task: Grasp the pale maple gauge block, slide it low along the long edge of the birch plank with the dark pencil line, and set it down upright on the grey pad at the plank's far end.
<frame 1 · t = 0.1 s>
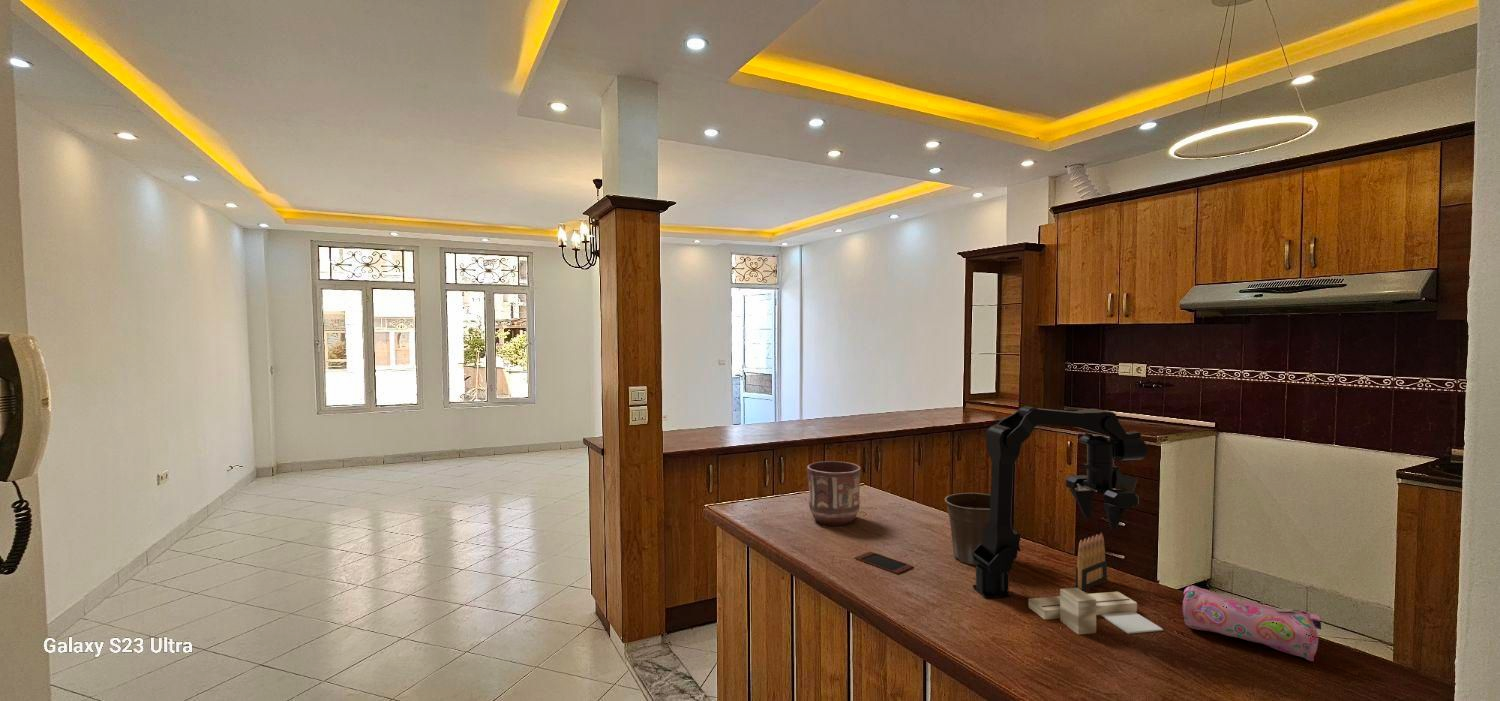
hand: (1100, 524, 153), 15 cm above the counter, tool pointing down, fingers open, 9 cm apart
plant pot: (976, 559, 171), on the counter
pottery: (834, 520, 207), on the counter
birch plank: (1082, 609, 140), on the counter
ammunition clip: (1091, 585, 153), on the counter
maple gauge block: (1077, 626, 132), on the counter
grey end pad: (1131, 623, 133), on the counter
pencil case: (1247, 642, 125), on the counter
smartphone: (883, 565, 169), on the counter
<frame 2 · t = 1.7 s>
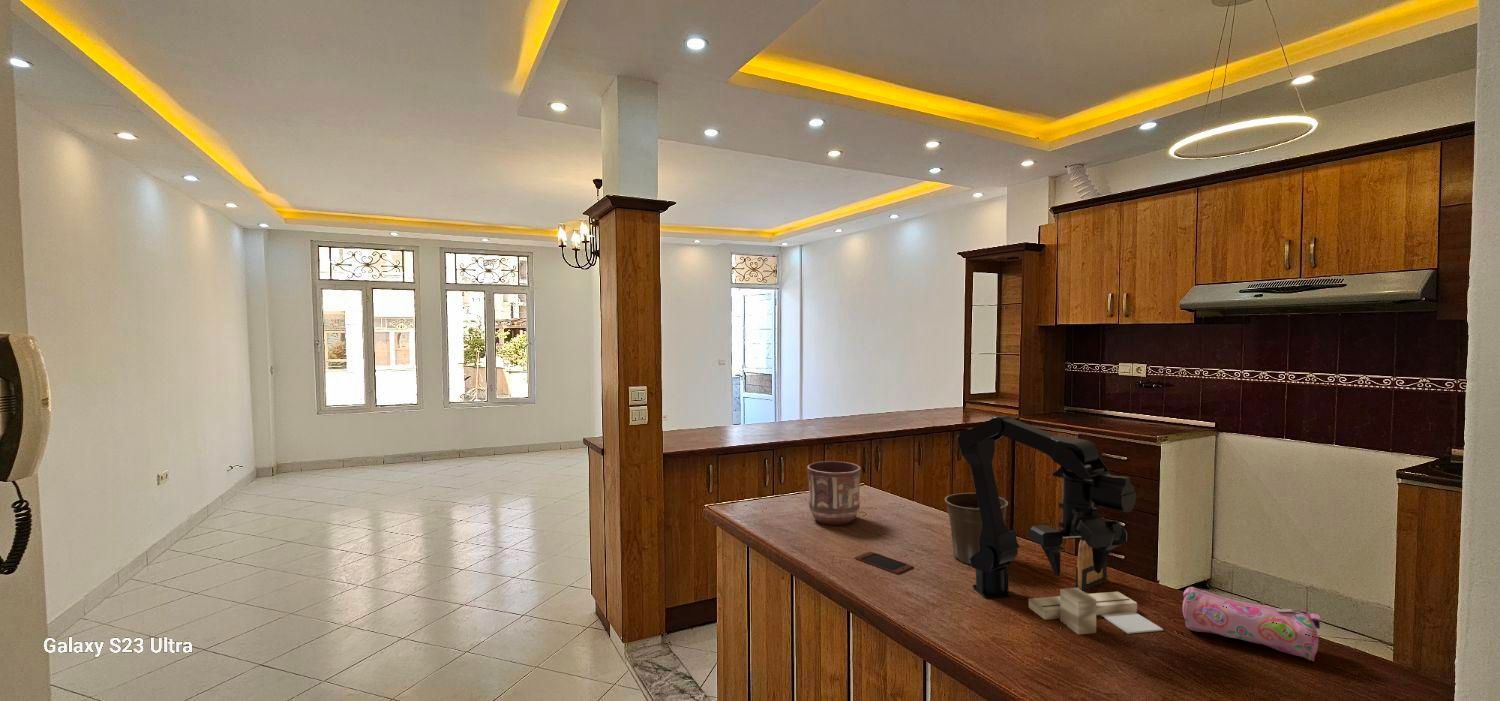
hand: (1077, 574, 132), 11 cm above the counter, tool pointing down, fingers open, 9 cm apart
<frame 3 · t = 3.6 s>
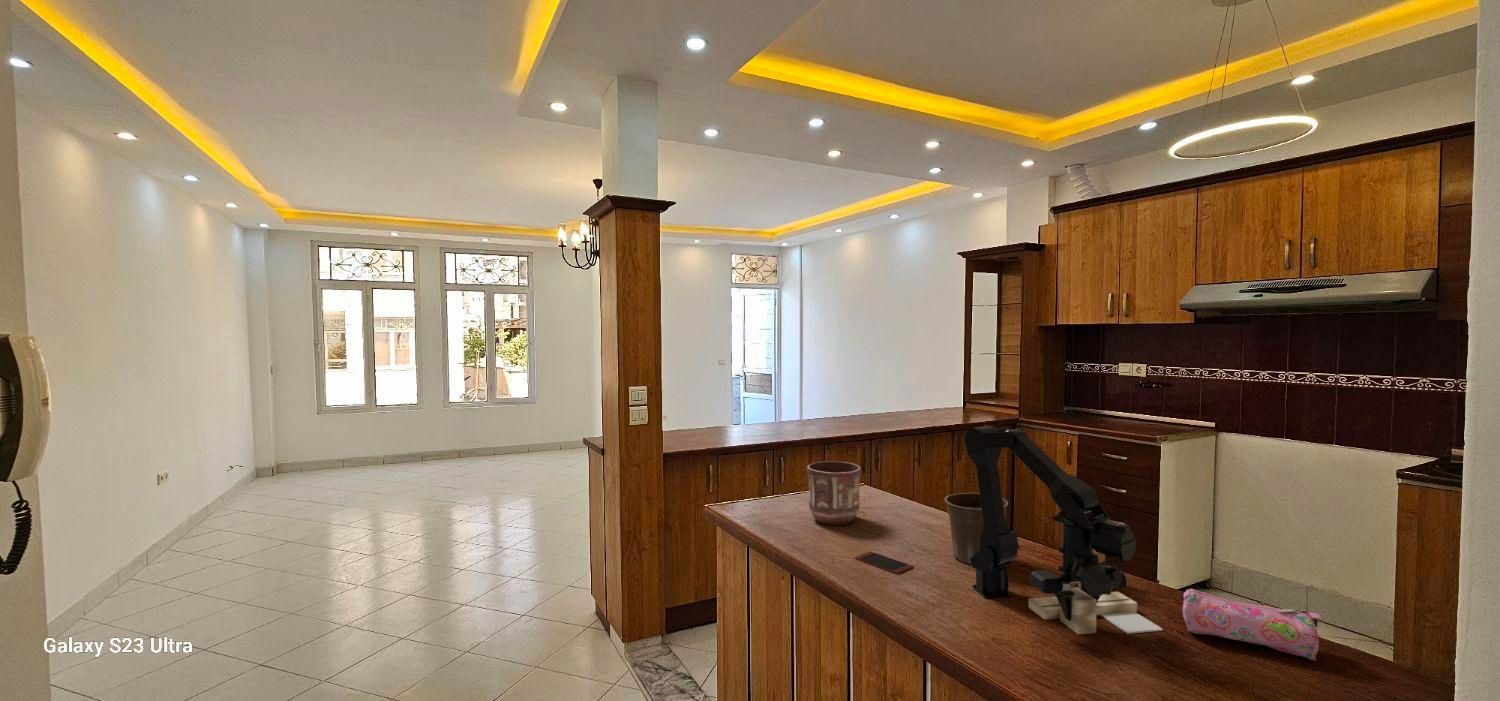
hand: (1077, 618, 132), 2 cm above the counter, tool pointing down, fingers closed on maple gauge block, 4 cm apart
maple gauge block: (1077, 626, 132), on the counter, touching gripper
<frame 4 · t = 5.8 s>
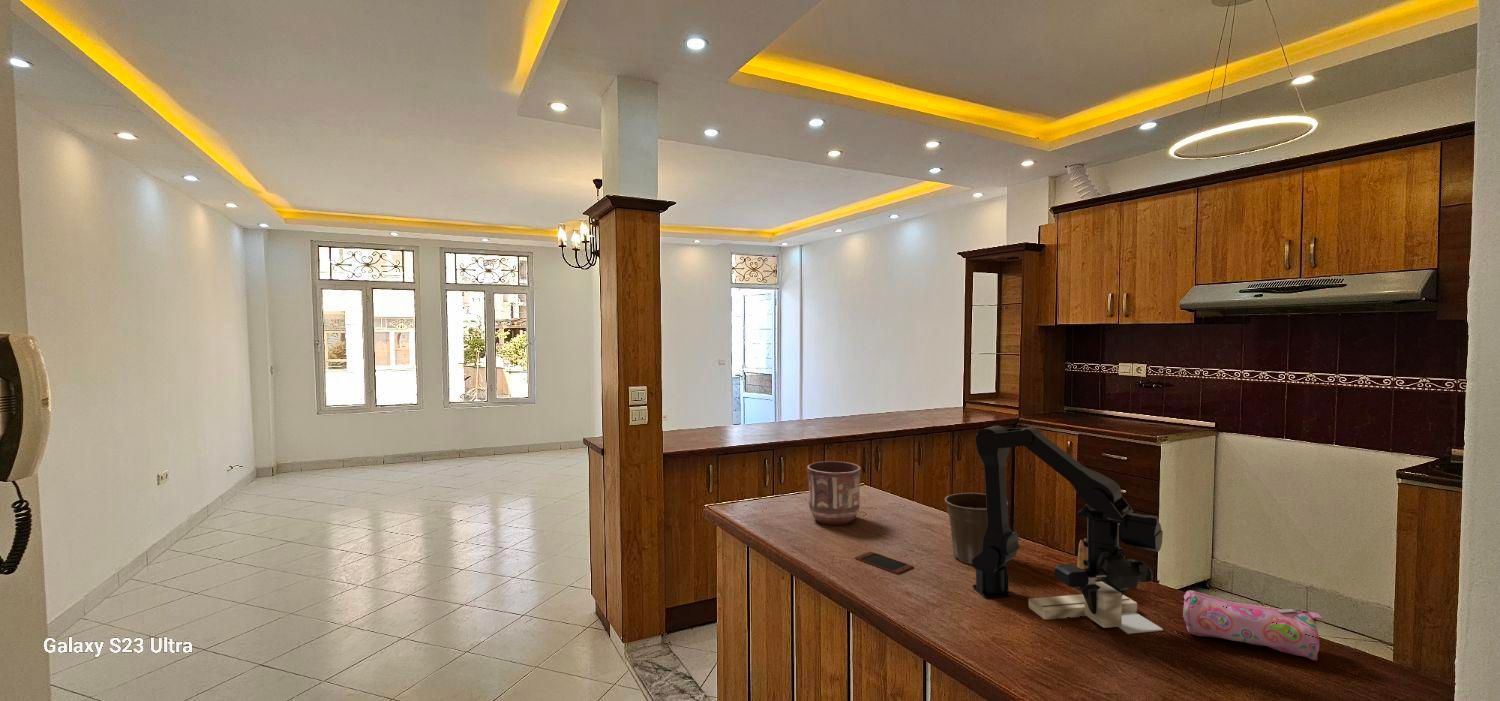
hand: (1102, 612, 132), 3 cm above the counter, tool pointing down, fingers closed on maple gauge block, 4 cm apart
maple gauge block: (1102, 620, 132), point 1 cm above the counter, touching gripper
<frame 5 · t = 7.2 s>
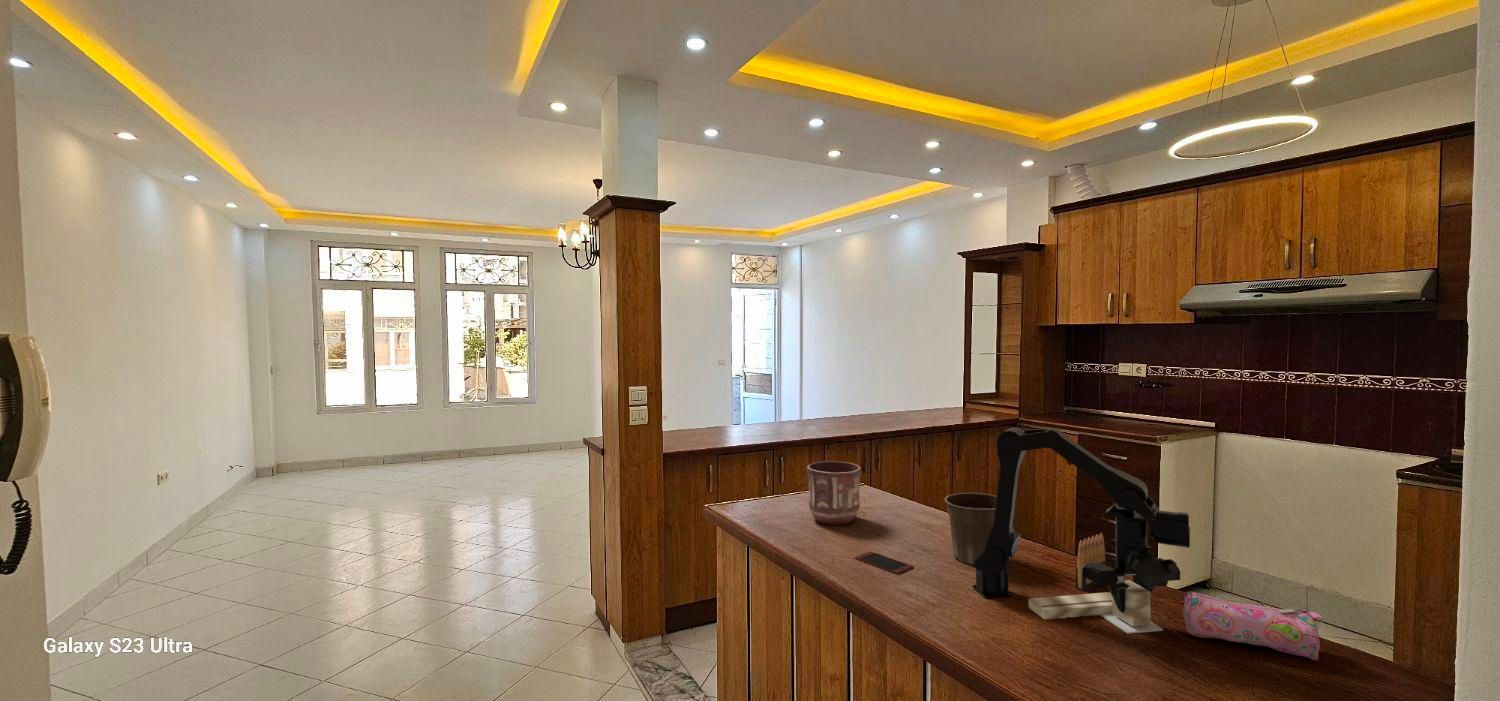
hand: (1130, 611, 133), 3 cm above the counter, tool pointing down, fingers closed on maple gauge block, 4 cm apart
maple gauge block: (1130, 618, 133), point 1 cm above the counter, touching gripper
when the fingers open (2 cm above the counter, at t = 8.4 s): maple gauge block stays where it is, resting on grey end pad.
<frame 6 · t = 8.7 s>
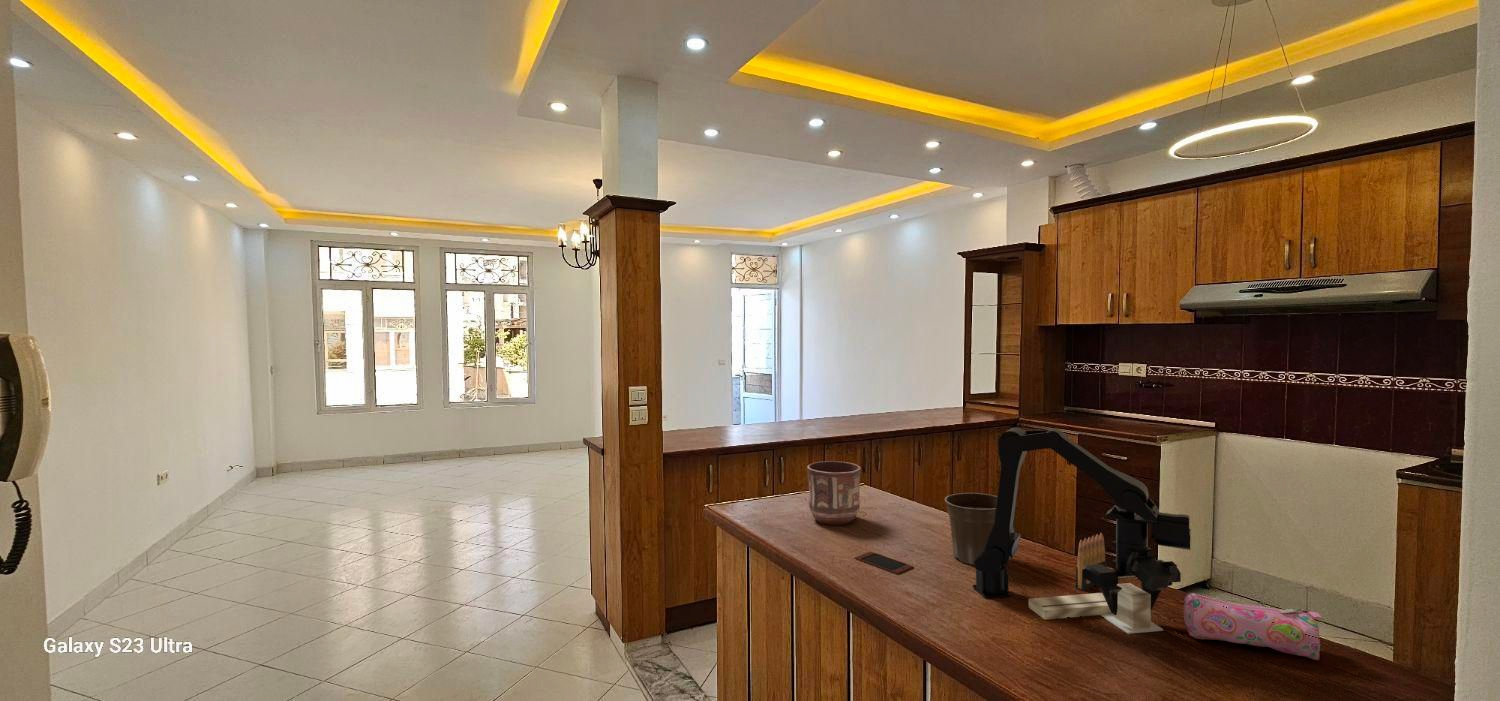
hand: (1131, 612, 133), 2 cm above the counter, tool pointing down, fingers open, 8 cm apart
maple gauge block: (1131, 621, 133), resting on grey end pad
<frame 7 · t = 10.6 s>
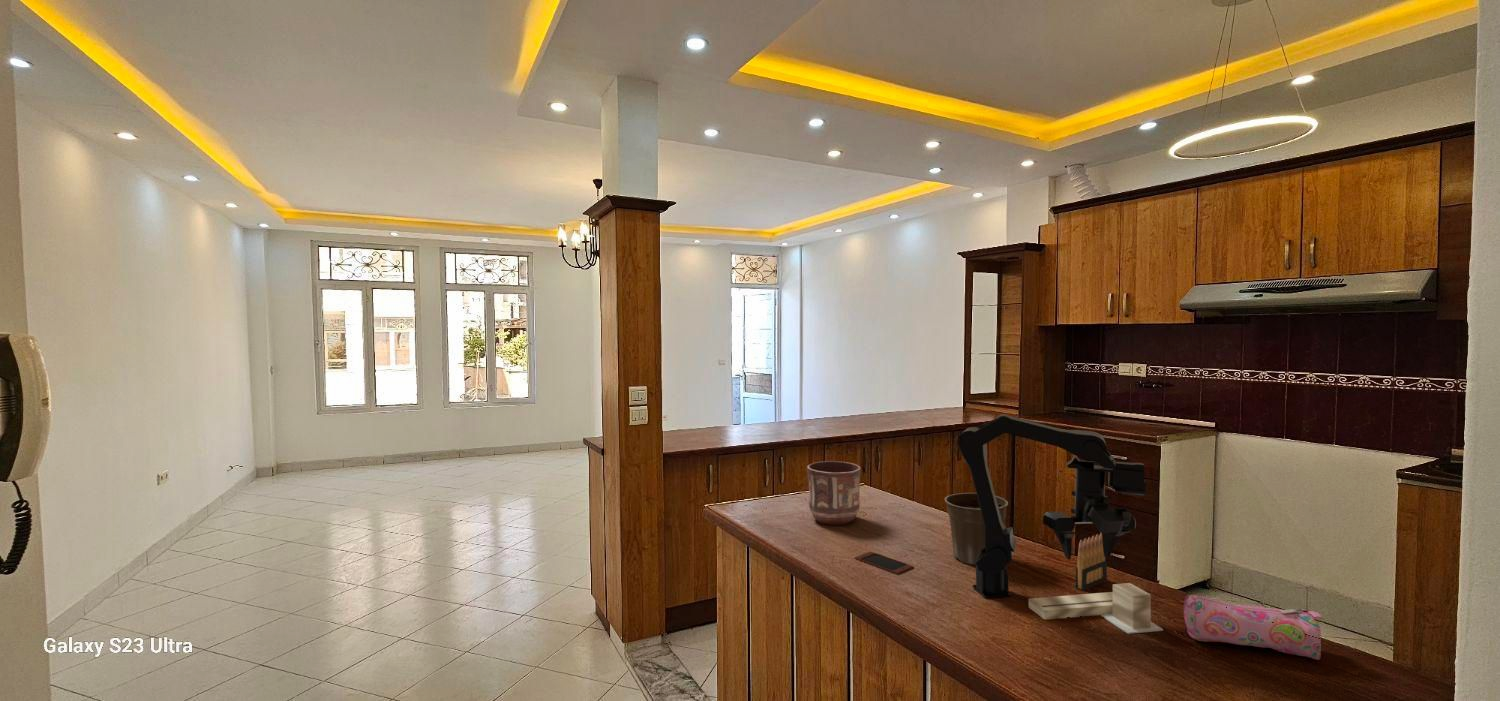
hand: (1087, 558, 140), 11 cm above the counter, tool pointing down, fingers open, 9 cm apart
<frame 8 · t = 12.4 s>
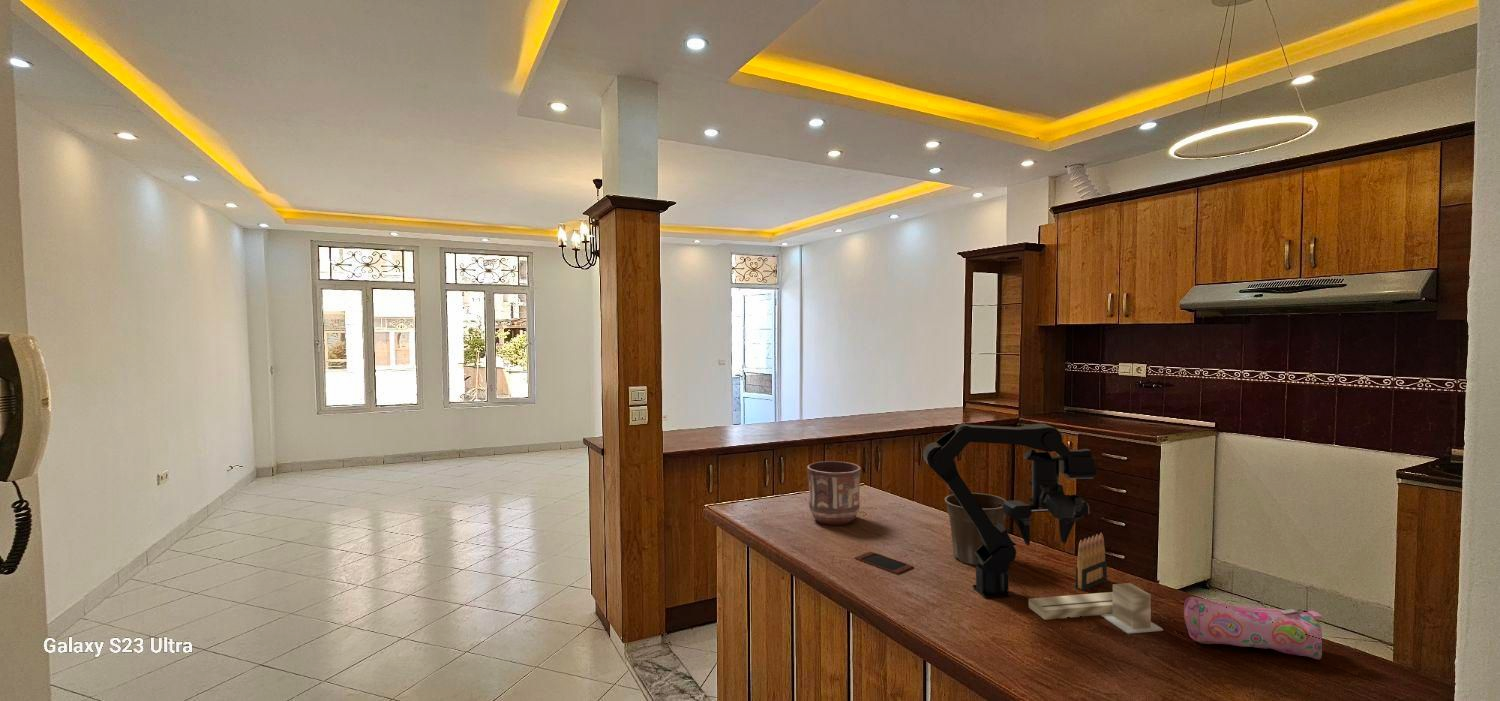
hand: (1045, 543, 148), 12 cm above the counter, tool pointing down, fingers open, 9 cm apart
at the end: maple gauge block 0.0 cm from the target spot, resting on grey end pad; maple gauge block tilted 0°; the gripper is holding nothing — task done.
